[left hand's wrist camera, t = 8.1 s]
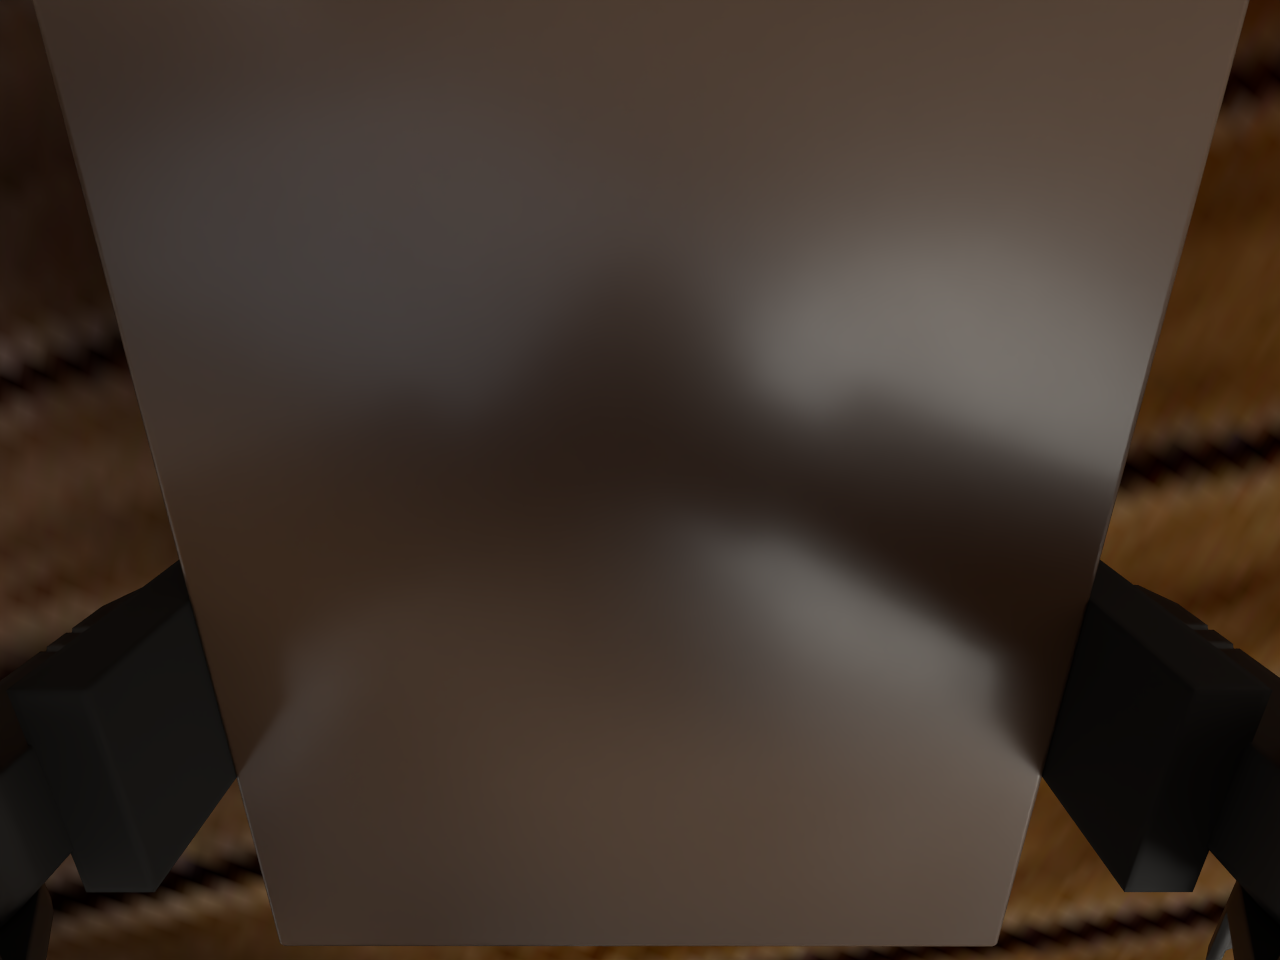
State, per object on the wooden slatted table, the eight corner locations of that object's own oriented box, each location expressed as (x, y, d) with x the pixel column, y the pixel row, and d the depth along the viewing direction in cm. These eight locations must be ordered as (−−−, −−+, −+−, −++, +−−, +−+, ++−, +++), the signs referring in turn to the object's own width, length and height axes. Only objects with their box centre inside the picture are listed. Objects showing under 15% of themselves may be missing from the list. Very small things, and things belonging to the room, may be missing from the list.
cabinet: (359, -203, 13) (-281, -1154, 4) (921, -201, 13) (1562, -1145, 4) (448, 603, 19) (278, 949, 10) (829, 603, 20) (998, 948, 10)
